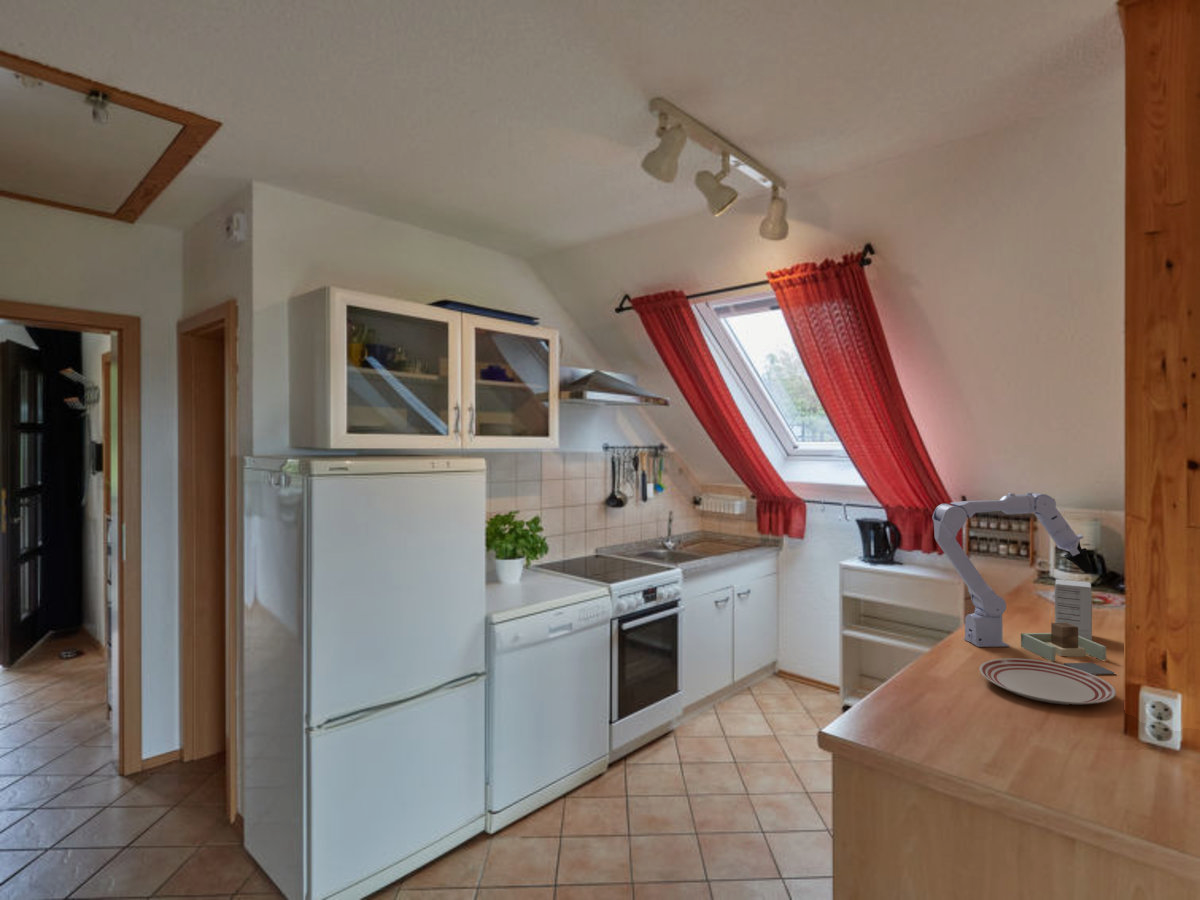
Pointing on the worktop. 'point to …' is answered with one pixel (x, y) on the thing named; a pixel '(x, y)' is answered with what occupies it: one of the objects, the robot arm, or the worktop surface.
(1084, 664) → the mat
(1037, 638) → the crate
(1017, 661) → the dinner plate
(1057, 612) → the supplement box
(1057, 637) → the block
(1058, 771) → the worktop surface
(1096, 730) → the worktop surface
